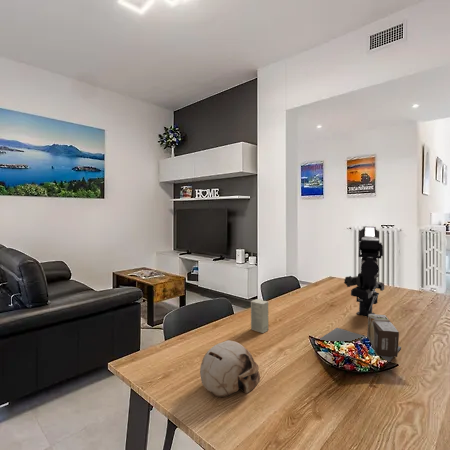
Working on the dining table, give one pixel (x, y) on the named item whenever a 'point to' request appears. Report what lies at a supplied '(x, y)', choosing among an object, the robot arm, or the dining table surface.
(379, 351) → the coffee box
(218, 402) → the dining table surface
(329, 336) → the mat
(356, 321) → the dining table surface
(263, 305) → the skincare box
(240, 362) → the coin bank
